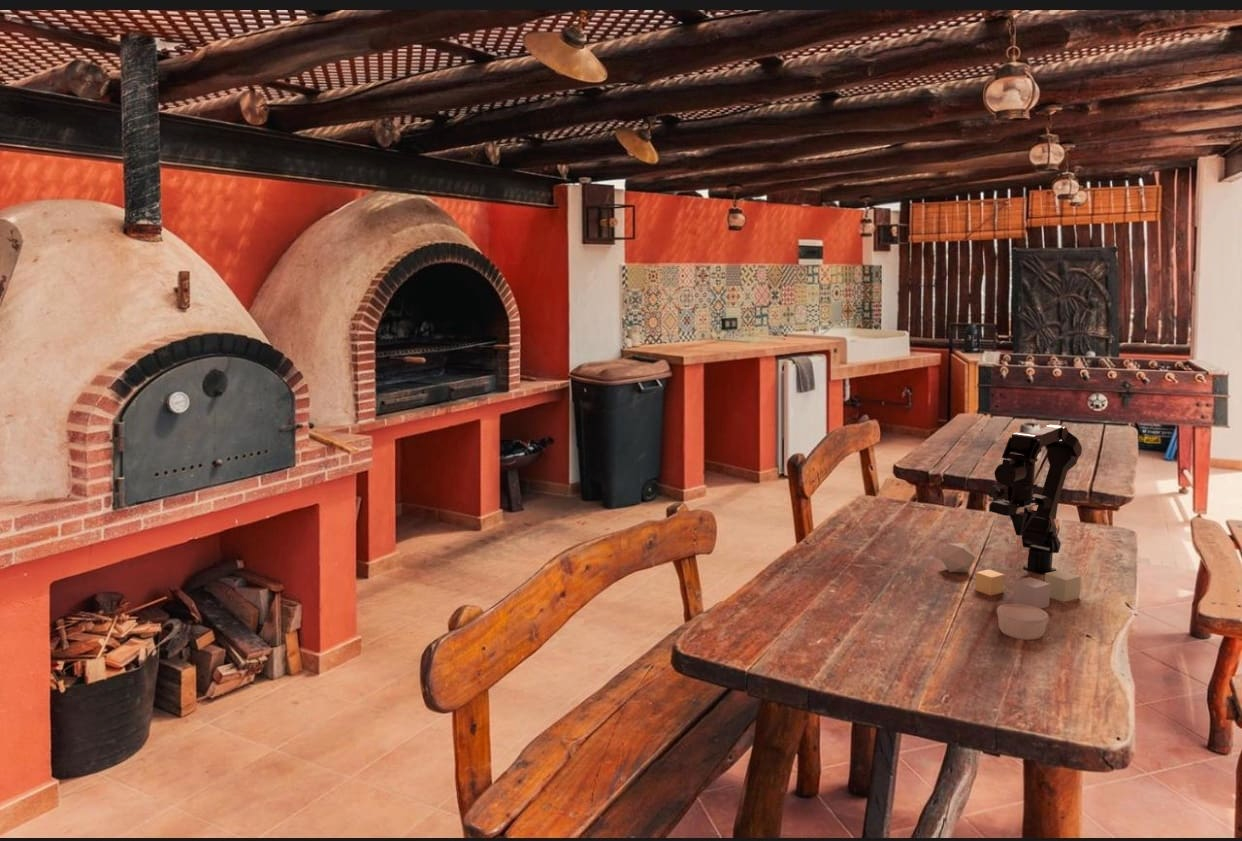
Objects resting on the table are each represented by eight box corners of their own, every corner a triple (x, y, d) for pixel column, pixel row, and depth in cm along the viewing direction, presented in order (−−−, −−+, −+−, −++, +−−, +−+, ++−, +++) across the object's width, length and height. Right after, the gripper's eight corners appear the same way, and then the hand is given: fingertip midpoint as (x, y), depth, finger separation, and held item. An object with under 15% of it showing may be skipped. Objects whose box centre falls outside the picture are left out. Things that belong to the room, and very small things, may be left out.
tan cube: (1058, 591, 242) (1060, 569, 241) (1079, 598, 236) (1080, 576, 235) (1043, 595, 239) (1045, 573, 238) (1064, 602, 233) (1066, 580, 233)
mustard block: (987, 587, 245) (988, 569, 244) (1003, 592, 241) (1004, 574, 240) (975, 590, 243) (976, 572, 242) (990, 595, 238) (991, 577, 238)
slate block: (1028, 599, 236) (1030, 577, 235) (1049, 606, 231) (1050, 583, 230) (1013, 603, 233) (1014, 580, 232) (1033, 610, 228) (1035, 587, 227)
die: (969, 580, 253) (984, 550, 254) (941, 563, 253) (957, 534, 255) (958, 581, 261) (973, 552, 262) (931, 565, 261) (946, 536, 263)
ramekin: (1033, 623, 219) (1034, 602, 219) (1056, 641, 208) (1058, 620, 208) (987, 624, 219) (988, 603, 218) (1008, 642, 208) (1010, 620, 207)
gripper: (1019, 470, 256) (1016, 523, 259) (974, 477, 248) (970, 532, 250) (1055, 477, 247) (1051, 533, 249) (1008, 485, 238) (1005, 543, 240)
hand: (1018, 535), depth 248 cm, fingers closed
